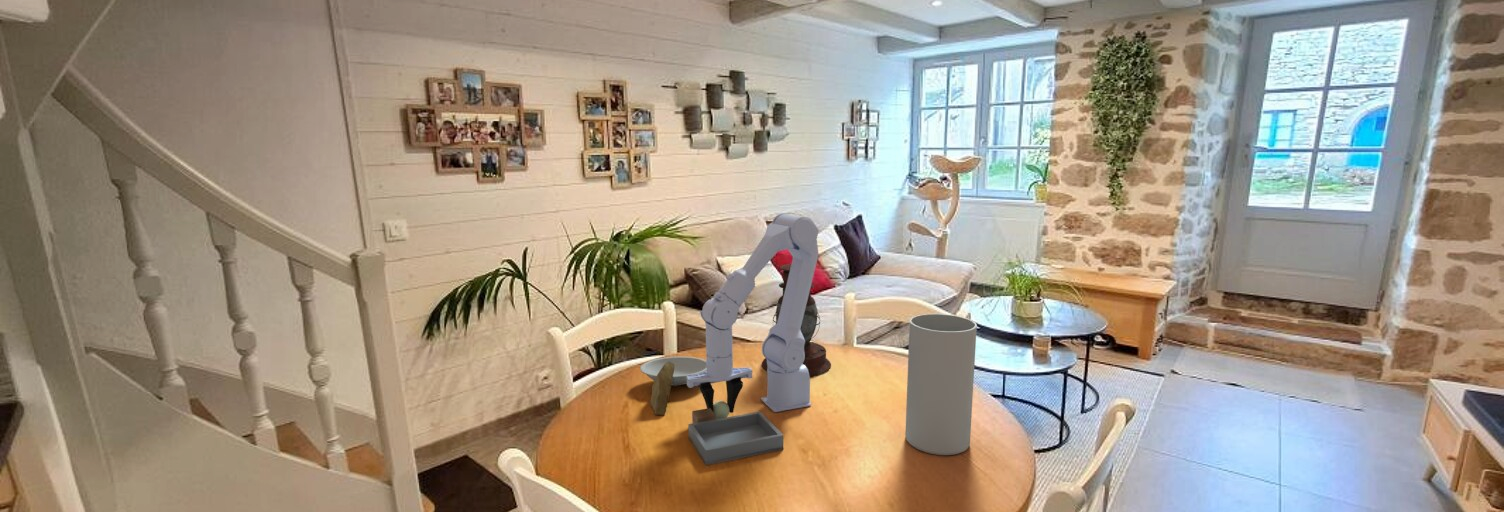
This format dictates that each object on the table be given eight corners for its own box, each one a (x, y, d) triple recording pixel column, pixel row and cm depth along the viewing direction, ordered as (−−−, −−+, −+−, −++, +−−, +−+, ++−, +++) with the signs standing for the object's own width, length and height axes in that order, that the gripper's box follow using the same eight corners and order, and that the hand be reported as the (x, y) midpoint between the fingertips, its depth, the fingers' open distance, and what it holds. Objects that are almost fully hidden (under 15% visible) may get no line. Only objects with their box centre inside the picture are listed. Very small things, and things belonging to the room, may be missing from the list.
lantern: (764, 352, 179) (763, 250, 174) (830, 354, 177) (831, 251, 172) (758, 376, 161) (757, 263, 155) (832, 378, 159) (833, 264, 153)
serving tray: (760, 424, 133) (760, 411, 133) (783, 449, 122) (783, 435, 122) (688, 437, 127) (688, 424, 127) (706, 465, 116) (705, 450, 116)
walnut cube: (710, 425, 133) (710, 408, 132) (716, 433, 129) (715, 415, 129) (692, 428, 132) (692, 411, 131) (698, 436, 128) (697, 418, 127)
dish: (711, 373, 163) (710, 355, 162) (711, 394, 149) (711, 375, 148) (644, 375, 162) (643, 357, 161) (637, 397, 148) (636, 377, 147)
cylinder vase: (936, 463, 116) (942, 335, 112) (892, 435, 127) (896, 319, 123) (983, 447, 122) (991, 326, 118) (937, 423, 133) (943, 310, 129)
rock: (673, 409, 136) (693, 387, 144) (649, 379, 135) (671, 358, 144) (642, 429, 141) (663, 406, 149) (619, 399, 140) (642, 378, 149)
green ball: (726, 413, 139) (725, 396, 138) (732, 420, 135) (732, 403, 134) (709, 416, 137) (708, 399, 136) (714, 424, 133) (714, 406, 133)
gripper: (744, 344, 140) (744, 400, 142) (682, 352, 134) (683, 411, 137) (755, 353, 133) (756, 412, 136) (691, 362, 128) (692, 424, 130)
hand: (720, 412), depth 136 cm, fingers closed on green ball, 4 cm apart
